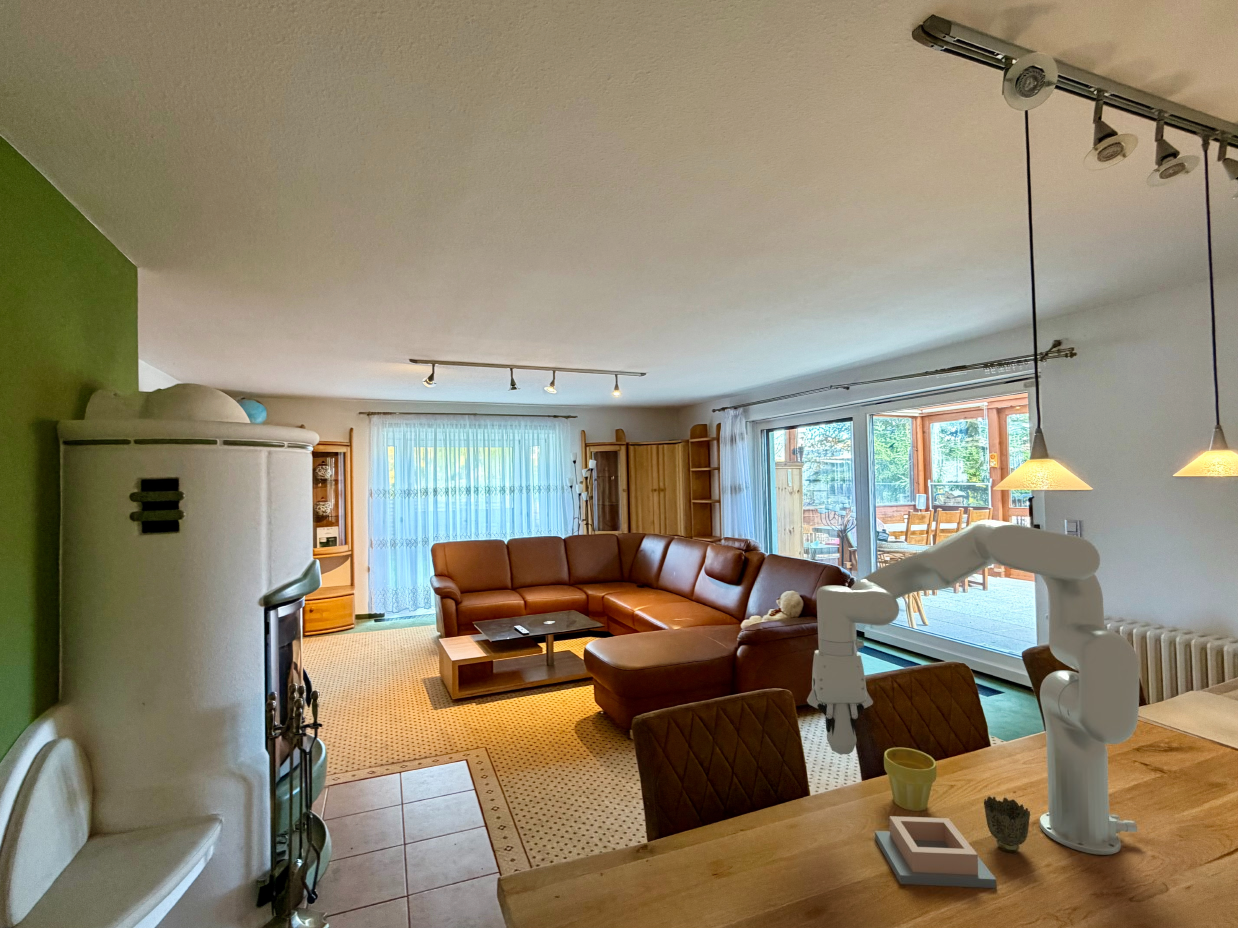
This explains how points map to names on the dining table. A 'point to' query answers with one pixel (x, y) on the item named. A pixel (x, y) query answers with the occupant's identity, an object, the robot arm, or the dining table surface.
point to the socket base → (932, 854)
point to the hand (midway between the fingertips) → (841, 734)
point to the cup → (1007, 822)
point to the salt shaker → (842, 730)
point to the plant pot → (910, 777)
